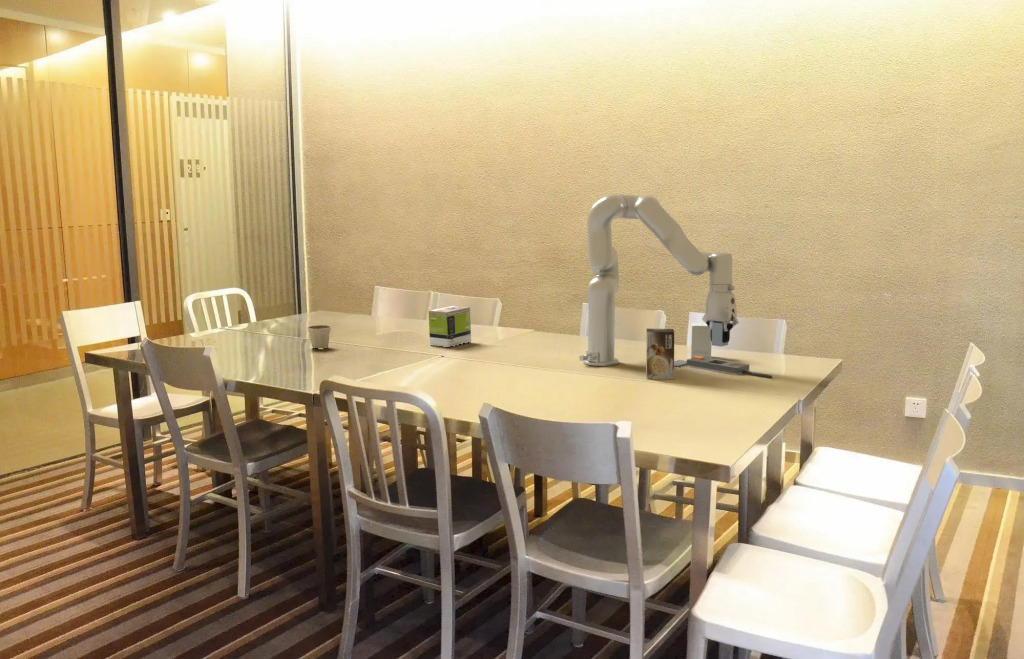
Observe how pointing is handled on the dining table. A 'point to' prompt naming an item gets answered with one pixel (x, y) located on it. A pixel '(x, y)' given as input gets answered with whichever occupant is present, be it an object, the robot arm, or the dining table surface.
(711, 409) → the dining table surface
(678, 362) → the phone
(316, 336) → the flower pot
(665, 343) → the coffee box
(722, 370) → the power strip
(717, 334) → the block
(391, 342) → the dining table surface
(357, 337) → the dining table surface
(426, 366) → the dining table surface
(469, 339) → the tea box
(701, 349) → the supplement box
